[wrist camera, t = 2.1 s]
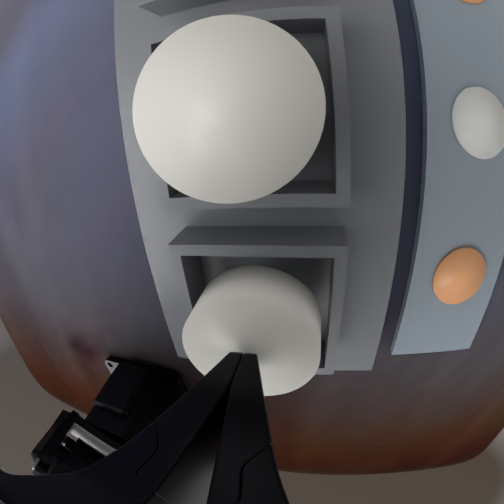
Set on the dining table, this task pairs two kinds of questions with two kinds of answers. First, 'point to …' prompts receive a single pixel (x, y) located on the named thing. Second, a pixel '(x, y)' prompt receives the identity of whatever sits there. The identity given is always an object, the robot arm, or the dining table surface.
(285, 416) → the dining table surface
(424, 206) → the pattern card
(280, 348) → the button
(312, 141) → the button middle
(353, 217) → the button board
